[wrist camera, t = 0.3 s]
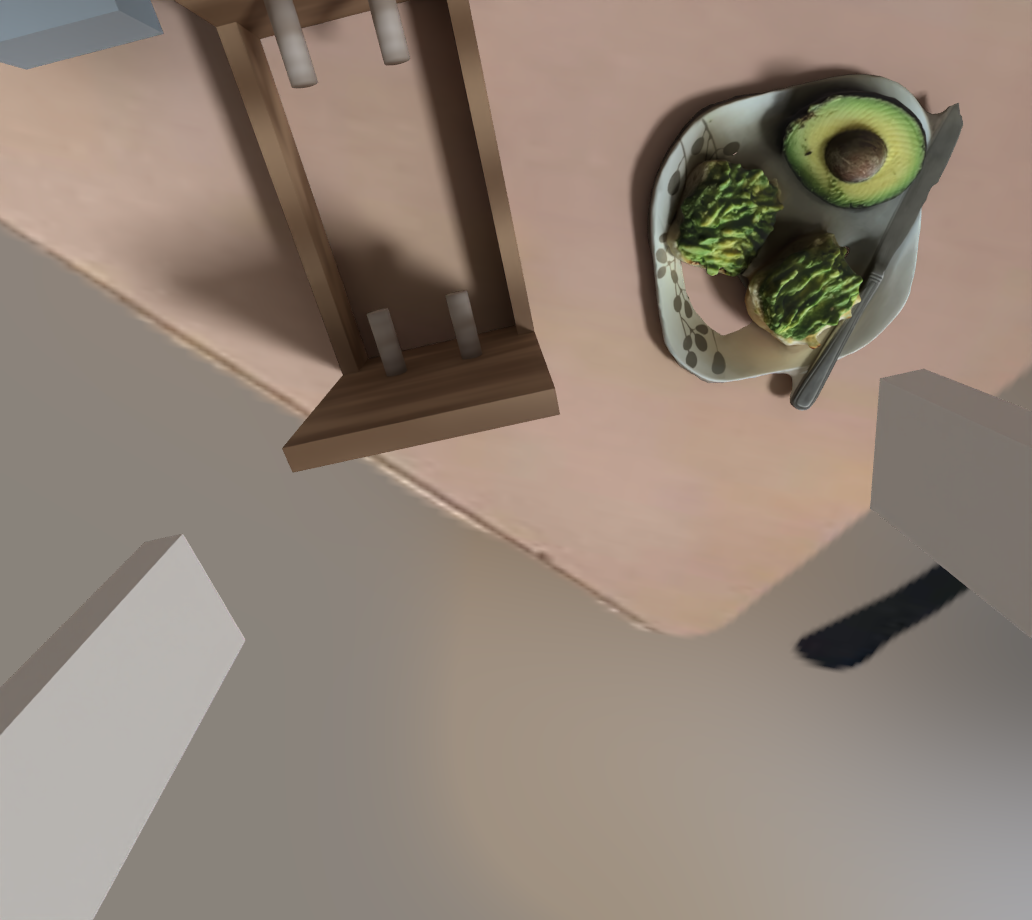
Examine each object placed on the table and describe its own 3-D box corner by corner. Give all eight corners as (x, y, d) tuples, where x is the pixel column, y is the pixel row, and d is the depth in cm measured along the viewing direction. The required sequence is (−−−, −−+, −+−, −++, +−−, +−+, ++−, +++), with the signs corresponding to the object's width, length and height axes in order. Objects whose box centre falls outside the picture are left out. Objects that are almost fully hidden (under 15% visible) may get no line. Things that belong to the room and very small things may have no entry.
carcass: (231, 15, 28) (22, -137, 15) (457, -44, 28) (432, -252, 15) (359, 379, 37) (292, 472, 24) (534, 339, 36) (559, 414, 23)
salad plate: (902, 381, 39) (952, 403, 35) (656, 425, 40) (676, 452, 35) (949, 56, 31) (1021, 33, 27) (635, 117, 31) (658, 104, 27)
